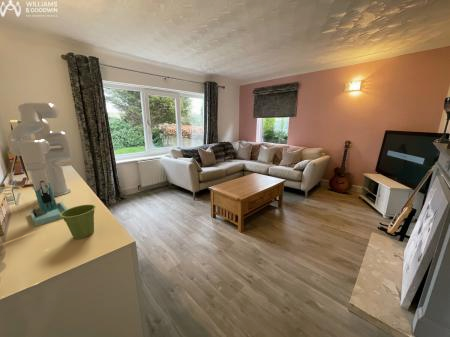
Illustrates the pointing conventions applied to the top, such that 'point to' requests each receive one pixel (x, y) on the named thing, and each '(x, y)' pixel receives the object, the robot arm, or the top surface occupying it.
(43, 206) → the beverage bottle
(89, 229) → the plant pot
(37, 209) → the walnut block
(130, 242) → the top surface
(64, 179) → the robot arm
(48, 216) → the tray
